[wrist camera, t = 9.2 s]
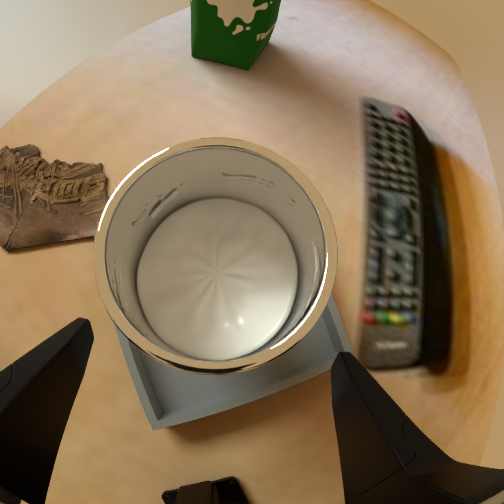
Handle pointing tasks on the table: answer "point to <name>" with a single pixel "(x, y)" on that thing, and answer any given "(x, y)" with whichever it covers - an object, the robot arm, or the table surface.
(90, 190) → the wooden fragment
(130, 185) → the metal tumbler
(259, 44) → the milk carton
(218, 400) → the tray
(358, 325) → the table surface
